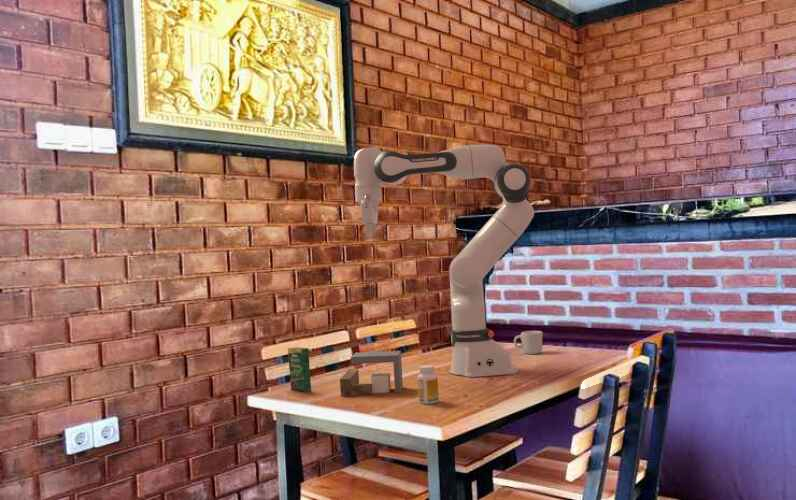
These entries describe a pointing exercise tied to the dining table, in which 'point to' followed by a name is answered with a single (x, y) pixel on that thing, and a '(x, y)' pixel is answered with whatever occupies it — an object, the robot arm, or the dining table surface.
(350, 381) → the wooden stepped block
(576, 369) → the dining table surface
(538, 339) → the cup
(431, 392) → the supplement bottle
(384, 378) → the cream block
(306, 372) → the coffee box
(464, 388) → the dining table surface
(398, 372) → the low shelf
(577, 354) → the dining table surface
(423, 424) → the dining table surface
